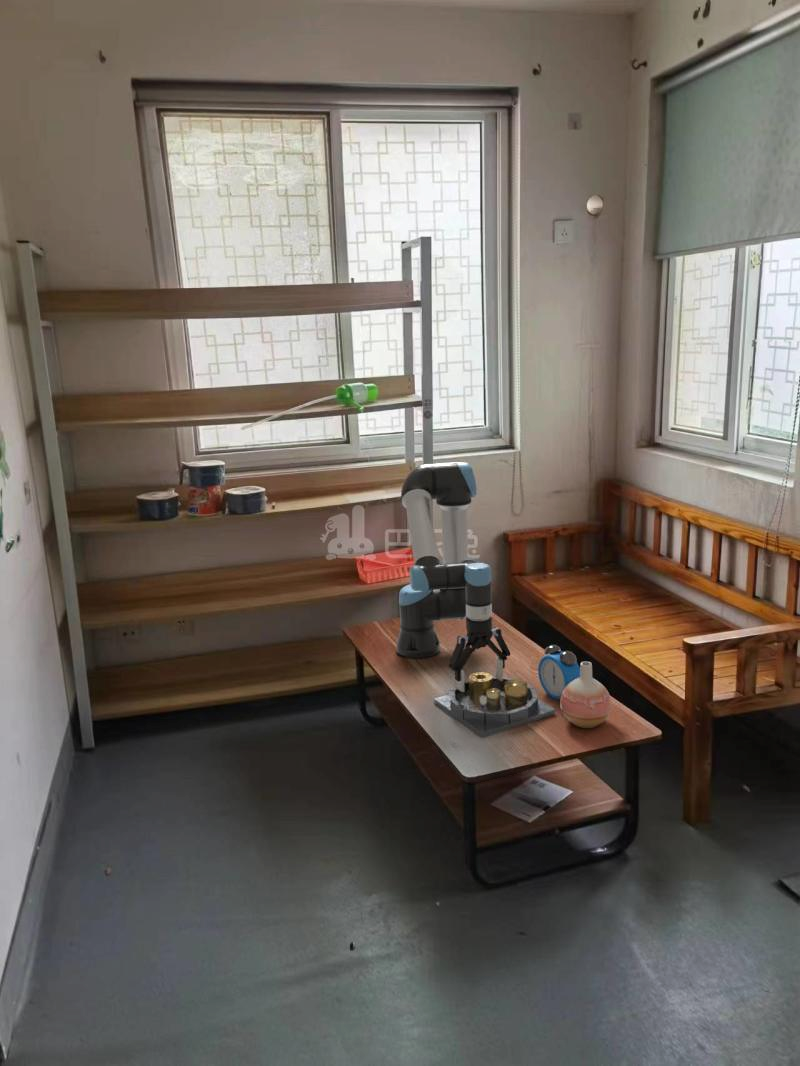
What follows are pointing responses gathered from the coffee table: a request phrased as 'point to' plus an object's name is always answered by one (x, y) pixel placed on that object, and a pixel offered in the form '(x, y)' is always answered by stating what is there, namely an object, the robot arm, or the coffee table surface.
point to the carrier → (495, 706)
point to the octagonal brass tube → (479, 684)
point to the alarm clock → (557, 670)
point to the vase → (585, 699)
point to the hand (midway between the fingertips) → (480, 684)
